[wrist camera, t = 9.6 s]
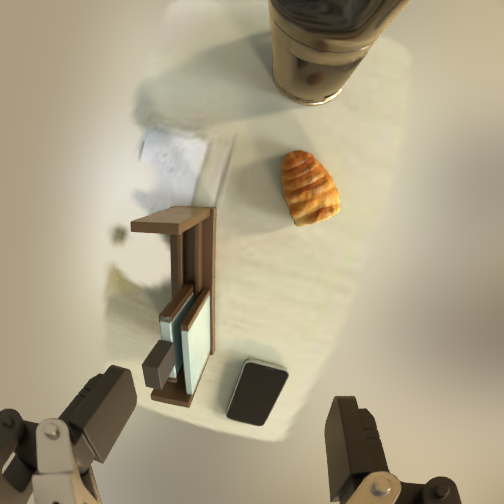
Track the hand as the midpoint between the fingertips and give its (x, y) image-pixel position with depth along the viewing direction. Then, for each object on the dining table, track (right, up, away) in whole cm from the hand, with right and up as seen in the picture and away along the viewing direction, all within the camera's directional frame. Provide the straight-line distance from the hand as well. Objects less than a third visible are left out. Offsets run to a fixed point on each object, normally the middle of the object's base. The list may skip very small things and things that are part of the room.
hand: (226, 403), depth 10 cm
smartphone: (+2, -18, +35) cm, 40 cm away
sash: (-8, -3, +30) cm, 31 cm away
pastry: (+8, +13, +26) cm, 31 cm away
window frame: (-7, +1, +31) cm, 32 cm away
